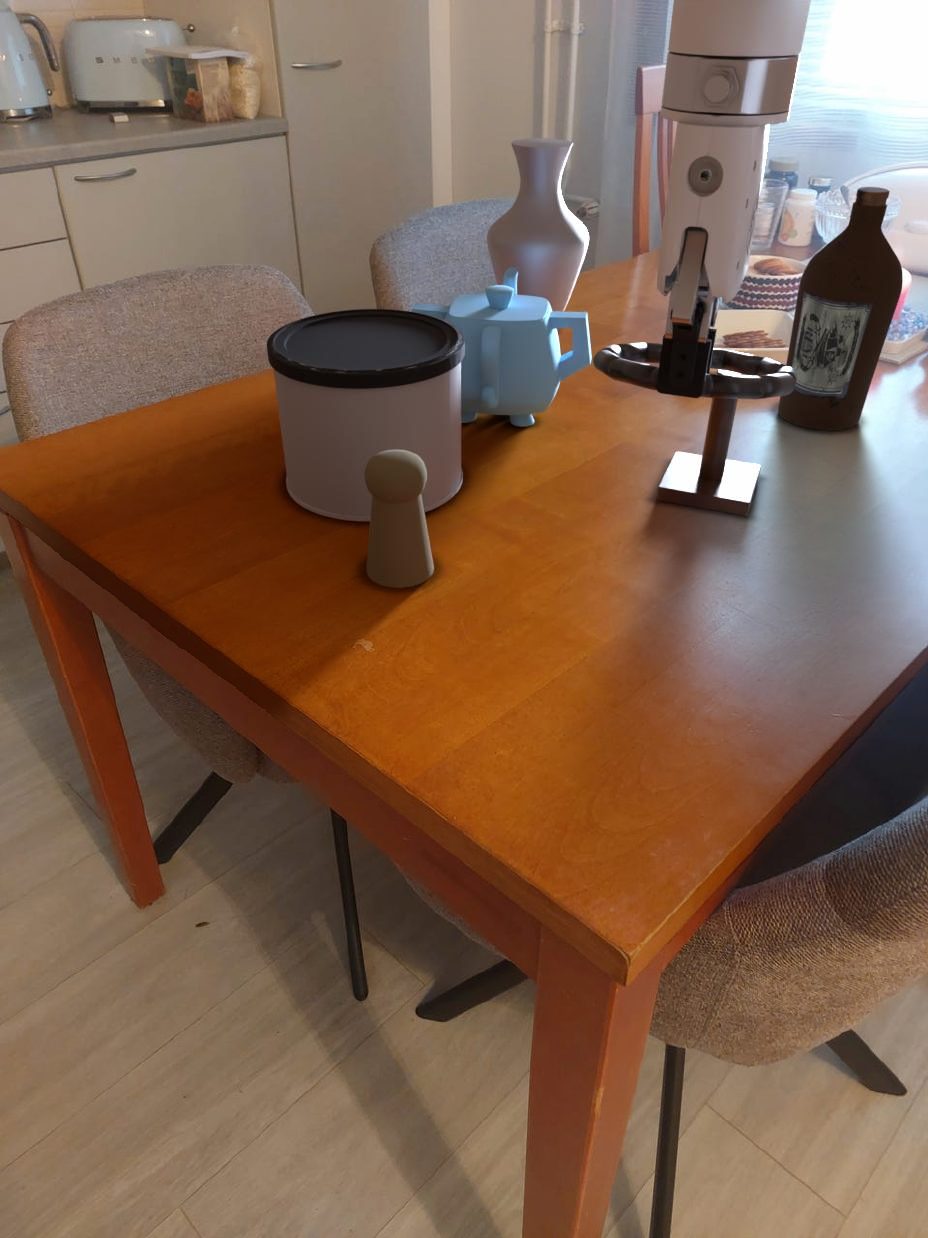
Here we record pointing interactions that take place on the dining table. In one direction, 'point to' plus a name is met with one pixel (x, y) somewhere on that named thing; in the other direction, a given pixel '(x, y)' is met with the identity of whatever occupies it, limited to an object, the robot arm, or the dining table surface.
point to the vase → (540, 227)
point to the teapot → (512, 350)
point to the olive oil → (843, 319)
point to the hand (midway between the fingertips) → (681, 386)
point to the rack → (712, 468)
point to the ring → (761, 382)
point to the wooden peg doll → (397, 520)
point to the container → (367, 403)
